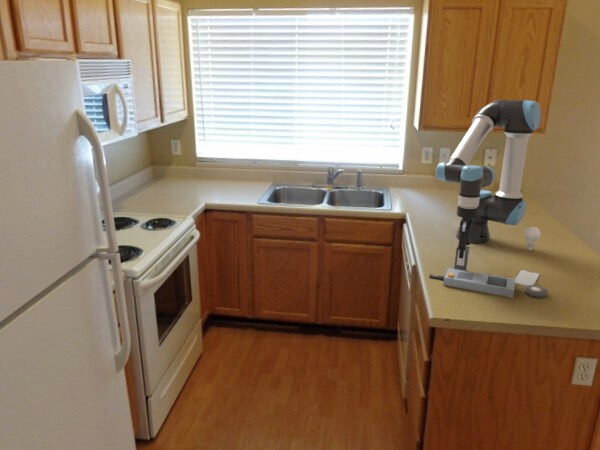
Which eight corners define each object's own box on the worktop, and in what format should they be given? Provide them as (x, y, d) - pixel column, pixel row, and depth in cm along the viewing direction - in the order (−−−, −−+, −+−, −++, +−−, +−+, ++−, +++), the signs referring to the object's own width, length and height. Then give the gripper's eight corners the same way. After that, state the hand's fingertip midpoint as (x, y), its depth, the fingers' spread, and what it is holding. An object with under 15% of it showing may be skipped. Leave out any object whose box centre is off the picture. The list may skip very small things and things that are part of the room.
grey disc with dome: (524, 288, 171) (525, 283, 170) (545, 291, 168) (546, 287, 167) (524, 295, 165) (525, 291, 164) (546, 299, 162) (547, 294, 161)
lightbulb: (518, 249, 209) (522, 225, 206) (529, 247, 211) (532, 224, 208) (530, 253, 203) (534, 230, 200) (540, 251, 206) (545, 228, 202)
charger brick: (454, 268, 188) (457, 245, 185) (466, 270, 186) (469, 247, 183) (452, 272, 184) (455, 248, 181) (465, 274, 182) (468, 250, 179)
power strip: (431, 272, 184) (432, 263, 183) (514, 286, 172) (515, 277, 171) (427, 281, 175) (427, 272, 174) (513, 297, 163) (514, 287, 162)
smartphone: (511, 282, 175) (520, 269, 186) (511, 283, 175) (520, 270, 187) (532, 287, 171) (540, 273, 182) (532, 289, 171) (540, 275, 182)
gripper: (460, 199, 186) (454, 254, 193) (454, 210, 171) (448, 269, 178) (480, 202, 183) (473, 257, 190) (475, 213, 168) (468, 272, 175)
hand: (461, 262), depth 184 cm, fingers closed on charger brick, 4 cm apart
